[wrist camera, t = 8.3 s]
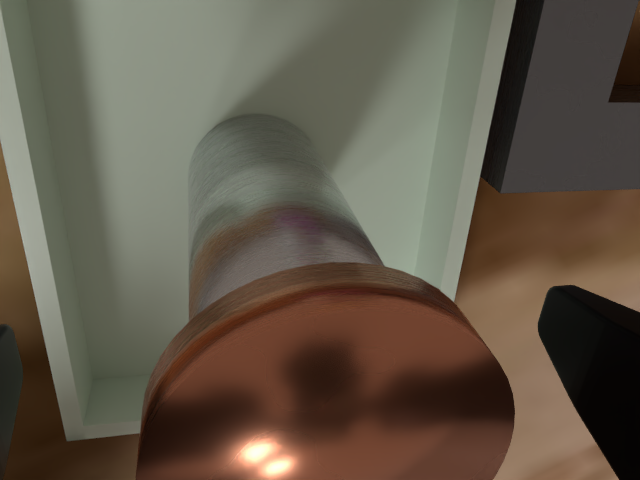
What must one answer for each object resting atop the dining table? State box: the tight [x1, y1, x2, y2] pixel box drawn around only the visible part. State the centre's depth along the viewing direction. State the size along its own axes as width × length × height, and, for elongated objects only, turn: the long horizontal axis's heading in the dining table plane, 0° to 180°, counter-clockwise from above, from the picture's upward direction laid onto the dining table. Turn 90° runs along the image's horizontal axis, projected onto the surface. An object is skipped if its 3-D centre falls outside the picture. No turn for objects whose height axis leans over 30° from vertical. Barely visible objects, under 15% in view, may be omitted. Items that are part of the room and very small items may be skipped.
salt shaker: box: [136, 114, 515, 480], centre depth 11 cm, size 5×5×10 cm
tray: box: [0, 0, 516, 441], centre depth 15 cm, size 14×11×2 cm
